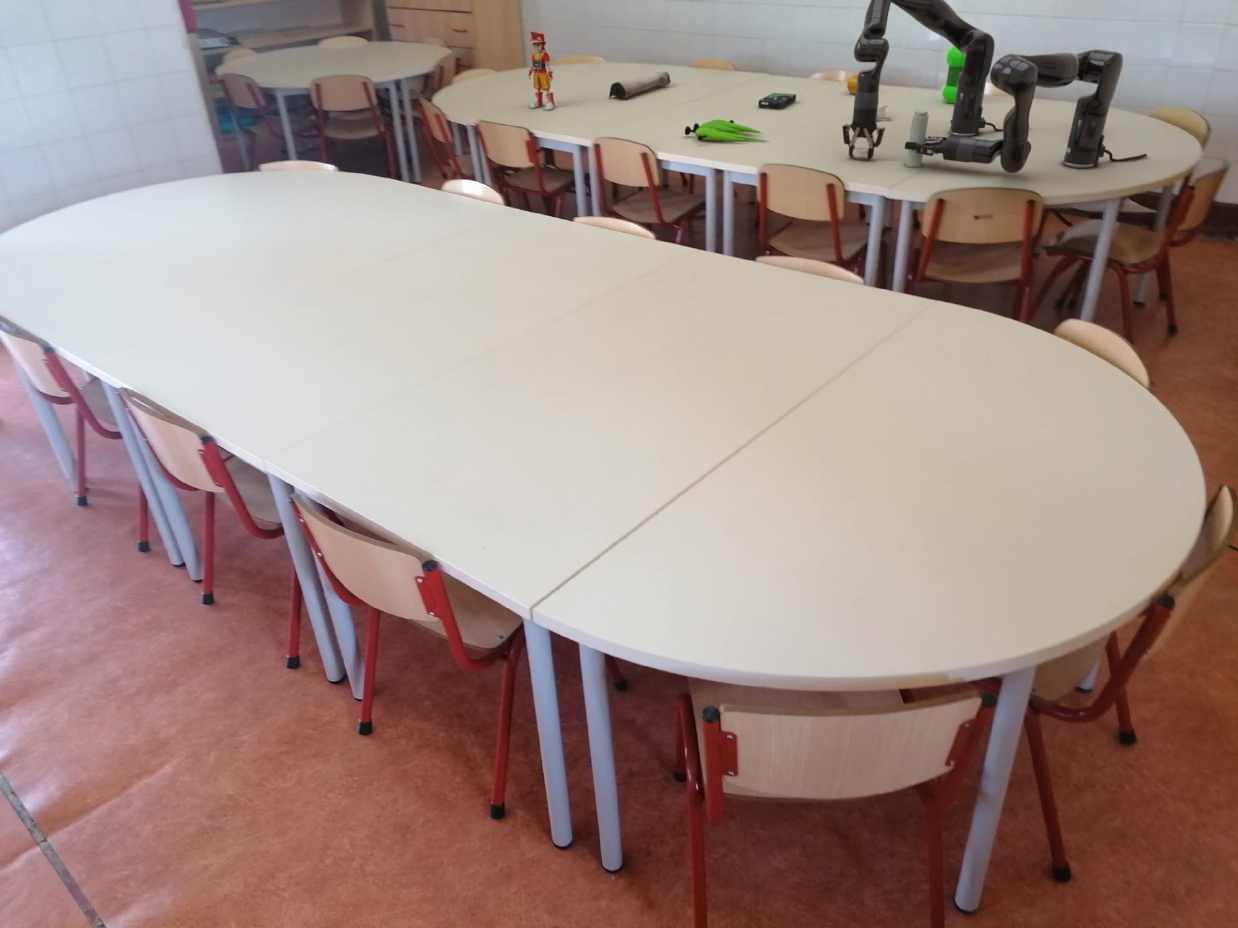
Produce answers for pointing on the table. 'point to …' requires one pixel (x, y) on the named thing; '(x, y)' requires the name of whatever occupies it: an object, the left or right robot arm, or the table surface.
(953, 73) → the green dumbbell-shaped cylinder
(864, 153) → the lid
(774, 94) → the disk drive
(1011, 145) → the right robot arm
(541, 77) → the toy
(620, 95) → the rolled mat
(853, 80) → the fruit
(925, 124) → the jar
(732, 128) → the toy
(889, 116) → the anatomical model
